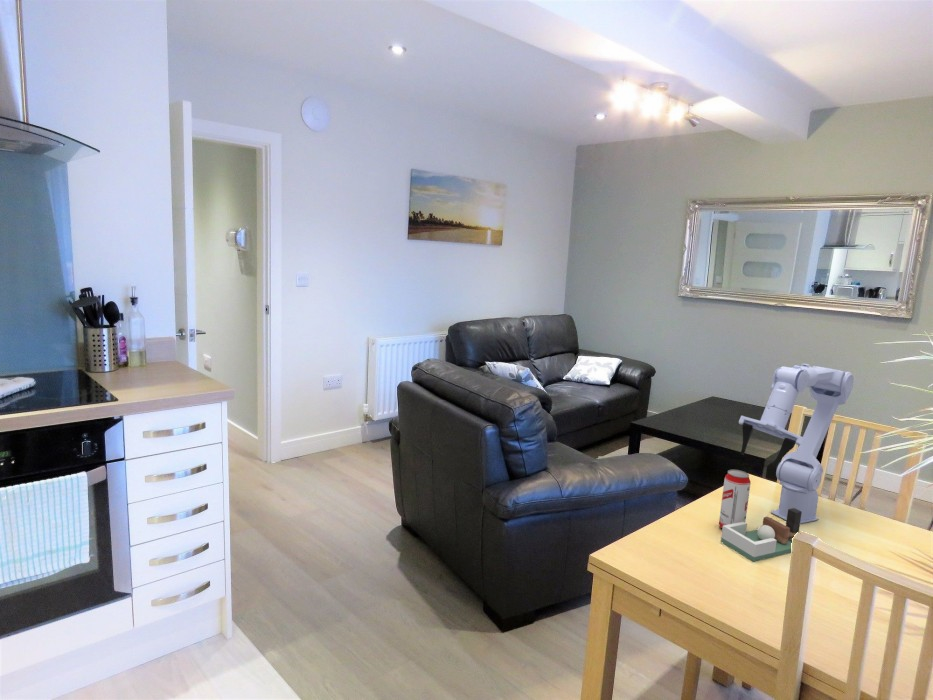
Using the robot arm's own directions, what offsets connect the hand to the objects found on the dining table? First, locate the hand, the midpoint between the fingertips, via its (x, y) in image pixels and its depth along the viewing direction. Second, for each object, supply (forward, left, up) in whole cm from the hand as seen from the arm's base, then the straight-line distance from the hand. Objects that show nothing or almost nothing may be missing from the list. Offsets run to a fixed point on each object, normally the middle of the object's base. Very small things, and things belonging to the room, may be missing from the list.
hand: (758, 460), depth 144 cm
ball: (-3, +3, -19) cm, 19 cm away
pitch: (-4, +3, -22) cm, 23 cm away
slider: (-9, +3, -20) cm, 23 cm away
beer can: (-1, -6, -22) cm, 23 cm away
